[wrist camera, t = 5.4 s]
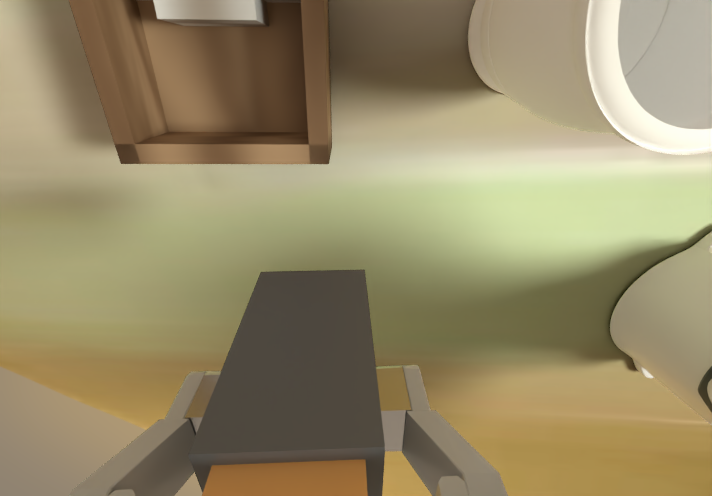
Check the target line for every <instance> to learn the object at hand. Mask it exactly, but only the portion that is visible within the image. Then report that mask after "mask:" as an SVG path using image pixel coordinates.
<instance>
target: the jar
mask: <svg viewBox="0 0 712 496" xmlns="http://www.w3.org/2000/svg"><path fill="white" fill-rule="evenodd" d="M468 47H469V53H470V58H471V61H472V64H473V66H474V69H475V71H476V72H477V74H478V76H479V77H480V78H481V79H482V81H483V82H484V83H485V84H486V85H488V86H489V87H490V88H492V89H493V90H495V91H497V92H500V93H503V94H505V95H506V96H507V97H509V98H510V99H511V100H513V101H514V102H516V103H518V104H519V105H520V106H522V107H523V108H524V109H526V110H527V111H529V112H530V113H532V114H534V115H535V116H537V117H539V118H541V119H543V120H546V121H548V122H551V123H553V124H556V125H559V126H563V127H566V128H570V129H575V130H580V131H587V132H596V133H610V134H615V135H617V136H618V137H620V138H622V139H624V140H625V141H627V142H630V143H632V144H635V145H638V146H641V147H644V148H646V149H649V150H652V151H656V152H660V153H666V154H677V155H689V154H700V153H707V152H712V0H476V1H475V4H474V6H473V10H472V13H471V17H470V22H469V29H468Z"/></svg>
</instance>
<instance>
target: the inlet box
mask: <svg viewBox="0 0 712 496" xmlns="http://www.w3.org/2000/svg"><path fill="white" fill-rule="evenodd" d="M69 3H70V6H71V9H72V12H73V15H74V18H75V21H76V25H77V28H78V31H79V34H80V37H81V40H82V43H83V46H84V50H85V53H86V56H87V59H88V62H89V65H90V68H91V72H92V75H93V78H94V81H95V84H96V87H97V90H98V93H99V97H100V100H101V103H102V106H103V109H104V112H105V115H106V118H107V122H108V125H109V128H110V131H111V134H112V137H113V140H114V143H115V147H116V150H117V153H118V156H119V159H120V162H121V164H329V160H330V154H331V149H332V129H331V89H330V49H329V9H328V0H69Z"/></svg>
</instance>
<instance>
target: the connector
mask: <svg viewBox="0 0 712 496" xmlns="http://www.w3.org/2000/svg"><path fill="white" fill-rule="evenodd" d="M188 456H189V459H190V461H191V464H192V466H193V469H194V472H195V474H196V476H197V479H198V482H199V484H200V487H201V489H202V492H203V494H202V496H382V488H383V472H384V456H385V442H384V434H383V425H382V416H381V408H380V399H379V390H378V382H377V373H376V364H375V356H374V347H373V338H372V330H371V321H370V312H369V304H368V295H367V287H366V278H365V270H329V271H282V272H261V273H260V276H259V278H258V281H257V283H256V286H255V288H254V291H253V293H252V296H251V298H250V301H249V303H248V306H247V308H246V311H245V313H244V316H243V318H242V321H241V323H240V326H239V328H238V331H237V333H236V336H235V338H234V341H233V343H232V346H231V348H230V351H229V353H228V356H227V358H226V361H225V363H224V366H223V368H222V371H221V373H220V376H219V378H218V381H217V383H216V386H215V388H214V391H213V393H212V396H211V398H210V401H209V403H208V406H207V408H206V411H205V413H204V416H203V418H202V421H201V423H200V426H199V428H198V431H197V433H196V436H195V438H194V441H193V443H192V446H191V448H190V451H189V453H188Z"/></svg>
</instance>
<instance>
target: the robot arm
mask: <svg viewBox="0 0 712 496" xmlns="http://www.w3.org/2000/svg"><path fill="white" fill-rule="evenodd" d="M610 333H611V337H612V339H613V342H614V343H615V345H616V346H617V347H618V348H619V349H620V350H622V351H623V352H625V353H626V354H627V355H629V356H630V357H632V358H633V361H634V364H635V367H636V369H637V370H638V371H639V372H640V373H642V374H643V375H644V376H645V377H647V378H655V379H657V380H658V381H659V382H660V383H661V384H662V385H664V386H665V387H666V388H667V389H668V390H669V391H671V392H672V393H673V394H674V395H675V396H677V397H678V398H679V399H680V400H681V401H682V402H684V403H685V404H686V405H687V406H688V407H690V408H691V409H692V410H693V411H694V412H696V413H697V414H698V415H699V416H700V417H702V418H703V419H704V420H705V421H706V422H708V423H709V424H711V425H712V231H711V232H710V233H709V234H707V235H706V236H705V237H704V238H702V239H701V240H700V241H699V242H697V243H696V244H695V245H694V246H692V247H690V248H689V249H687V250H685V251H683V252H681V253H678V254H676V255H674V256H672V257H670V258H668V259H666V260H664V261H662V262H661V263H659V264H657V265H656V266H654V267H653V268H651V269H650V270H648V271H647V272H646V273H644V274H643V275H642V276H641V277H639V278H638V279H637V280H636V281H635V282H634V283H633V284H632V285H631V286H630V287H629V288H628V289H627V290H626V292H625V293H624V294H623V296H622V297H621V298H620V300H619V301H618V303H617V305H616V307H615V309H614V311H613V314H612V317H611V322H610ZM220 373H221V371H199V372H190V373H189V374H188V375H187V376H186V378H185V380H184V382H183V384H182V386H181V388H180V390H179V392H178V394H177V396H176V398H175V400H174V402H173V404H172V405H171V407H170V409H169V411H168V413H167V415H166V417H165V419H162V420H158V421H157V422H156V423H155V424H153V425H152V426H151V427H150V428H148V429H147V430H146V431H145V432H143V433H142V434H141V435H140V436H138V437H137V438H136V439H135V440H134V441H132V442H131V443H130V444H129V445H127V446H126V447H125V448H124V449H122V450H121V451H120V452H119V453H118V454H116V455H115V456H114V457H112V458H111V459H110V460H109V461H108V462H107V463H105V464H104V465H103V466H101V467H100V468H99V469H98V470H96V471H95V472H94V473H93V474H91V475H90V476H89V477H88V478H86V480H84V481H83V482H82V483H80V484H79V485H78V486H77V487H76V488H74V489H73V490H72V491H71V493H70V495H69V496H174V495H175V494H176V493H177V492H178V490H179V489H180V488H181V487H182V486H183V485H184V483H185V482H186V481H187V480H188V479H189V477H190V476H191V475H192V474H193V473H194V469H193V466H192V464H191V461H190V459H189V456H188V453H189V451H190V448H191V446H192V443H193V441H194V438H195V436H196V433H197V431H198V428H199V426H200V423H201V421H202V418H203V416H204V413H205V411H206V408H207V406H208V403H209V401H210V398H211V396H212V393H213V391H214V388H215V386H216V383H217V381H218V378H219V376H220ZM376 373H377V382H378V390H379V399H380V408H381V416H382V425H383V434H384V442H385V451H402V453H403V454H404V456H405V457H406V458H407V460H408V461H409V463H410V464H411V466H412V467H413V468H414V470H415V471H416V473H417V474H418V476H419V477H420V478H421V480H422V481H423V483H424V484H425V486H426V487H427V488H428V490H429V491H430V493H431V494H432V496H508V495H507V492H506V490H505V487H504V484H503V482H502V479H501V477H500V474H499V473H498V472H497V471H496V470H495V469H494V468H493V467H492V466H491V465H490V464H489V463H488V462H487V461H486V460H485V459H484V458H483V457H482V456H481V455H480V454H479V453H478V452H477V451H476V450H475V449H474V448H473V447H472V446H471V445H470V444H469V443H468V442H467V441H466V440H465V439H464V438H463V437H462V436H461V435H460V434H459V433H458V432H457V431H456V430H455V429H454V428H453V427H452V426H451V425H450V424H449V423H448V422H447V421H446V420H445V419H444V418H443V417H442V416H441V415H440V414H439V413H438V412H437V411H436V410H430V406H429V402H428V398H427V395H426V391H425V387H424V383H423V380H422V376H421V372H420V368H419V366H418V365H402V366H401V365H399V366H376Z"/></svg>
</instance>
